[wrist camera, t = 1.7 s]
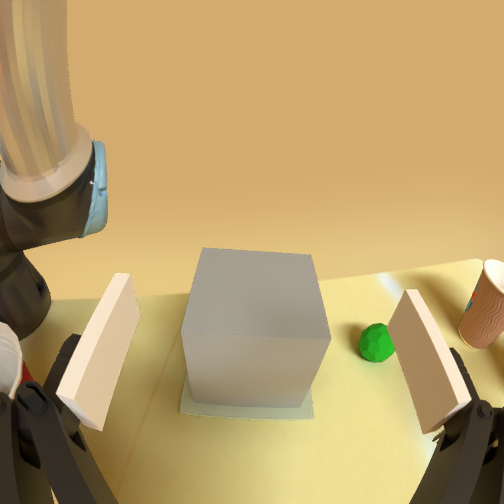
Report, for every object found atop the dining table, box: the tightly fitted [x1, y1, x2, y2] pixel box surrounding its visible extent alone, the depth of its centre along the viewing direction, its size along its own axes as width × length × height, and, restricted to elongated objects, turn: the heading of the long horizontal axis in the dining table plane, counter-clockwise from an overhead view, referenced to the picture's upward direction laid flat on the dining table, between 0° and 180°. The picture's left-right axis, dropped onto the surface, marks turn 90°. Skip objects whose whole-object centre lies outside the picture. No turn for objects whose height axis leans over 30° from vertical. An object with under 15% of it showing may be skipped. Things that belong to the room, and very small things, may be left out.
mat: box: [179, 370, 314, 421], centre depth 32 cm, size 14×14×1 cm
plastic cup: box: [0, 322, 34, 399], centre depth 17 cm, size 11×11×12 cm
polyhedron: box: [359, 323, 395, 362], centre depth 33 cm, size 5×5×5 cm
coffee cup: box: [459, 259, 504, 350], centre depth 33 cm, size 10×10×12 cm
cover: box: [181, 248, 331, 408], centre depth 29 cm, size 11×11×12 cm
